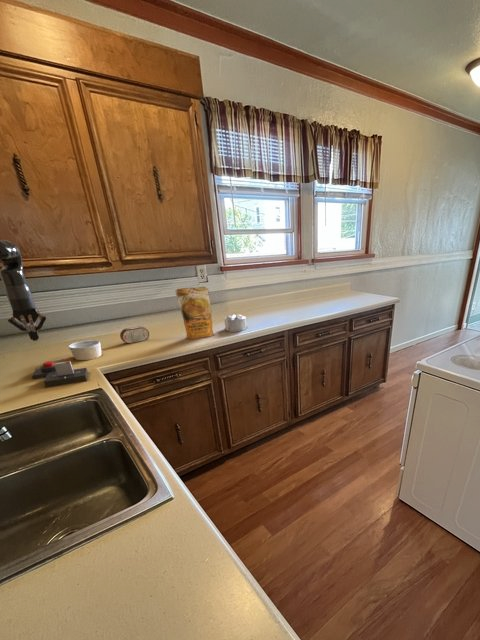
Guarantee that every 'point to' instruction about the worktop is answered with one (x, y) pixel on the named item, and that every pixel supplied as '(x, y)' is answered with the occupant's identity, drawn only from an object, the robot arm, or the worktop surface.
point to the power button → (48, 364)
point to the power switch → (43, 372)
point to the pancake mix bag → (196, 311)
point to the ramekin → (86, 350)
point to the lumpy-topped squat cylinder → (235, 323)
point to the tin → (134, 334)
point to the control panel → (66, 378)
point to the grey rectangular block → (64, 368)
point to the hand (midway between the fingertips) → (35, 340)
